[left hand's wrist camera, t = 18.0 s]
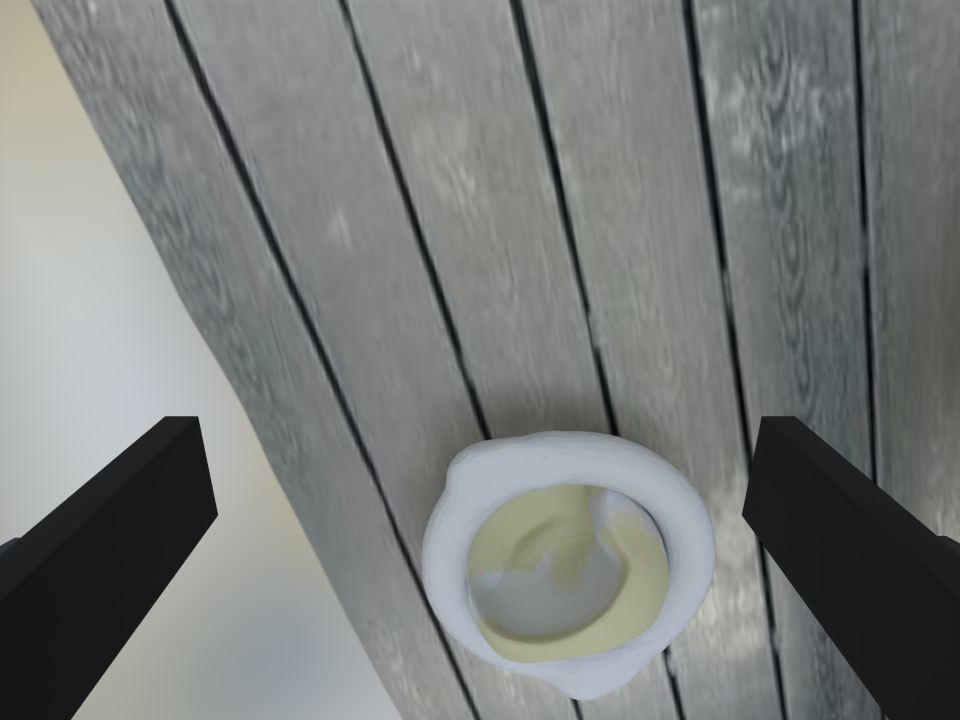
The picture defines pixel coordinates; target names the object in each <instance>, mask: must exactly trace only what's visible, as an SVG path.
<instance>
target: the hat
mask: <svg viewBox="0 0 960 720" xmlns="http://www.w3.org/2000/svg"><path fill="white" fill-rule="evenodd" d="M649 513H650V514H651V515H650V514H649ZM651 516H652V517H653V518H654V520H655V521H656V523H657V525H658V527H659V530H660V532H661V535H662V538H663V542H662V539H661V536H660V534H659V531H658V529H657V527H656V525H655V523H654V521H653V519H652V517H651ZM715 561H716V543H715V535H714V529H713V525H712V522H711V519H710V516H709V514H708V511H707V509H706V507H705V505H704V503H703V501H702V499H701V497H700V495H699V493H698V492H697V491H696V489H695V488H694V487H693V485H692V484H691V482H690V481H689V480H688V479H687V478H686V477H685V476H684V475H683V474H682V473H681V472H680V471H679V470H678V469H677V468H676V467H675V466H673V465H672V464H671V463H670V462H669V461H667V460H666V459H665V458H663V457H661V456H660V455H658V454H657V453H655V452H654V451H652V450H650V449H648V448H646V447H644V446H642V445H640V444H638V443H635V442H632V441H629V440H626V439H623V438H621V437H617V436H613V435H608V434H603V433H596V432H589V431H543V432H537V433H533V434H529V435H525V436H517V437H508V438H500V439H493V440H486V441H481V442H478V443H475V444H471V445H470V446H468V447H467V448H465V449H464V450H462V451H461V452H460V453H458V454H457V455H456V456H455V458H454V459H453V460H452V461H451V463H450V465H449V468H448V470H447V477H446V487H445V489H444V491H443V493H442V495H441V497H440V499H439V501H438V502H437V504H436V506H435V507H434V510H433V512H432V514H431V516H430V518H429V520H428V523H427V526H426V529H425V533H424V538H423V545H422V556H421V565H422V576H423V584H424V587H425V591H426V594H427V597H428V600H429V602H430V604H431V606H432V608H433V611H434V613H435V614H436V616H437V617H438V619H439V620H440V622H441V623H442V625H443V626H444V627H445V629H446V630H447V631H448V632H449V633H450V634H451V635H452V636H453V637H454V638H455V639H456V640H457V641H458V642H459V643H460V644H461V645H462V646H463V647H464V648H466V649H467V650H469V651H470V652H471V653H473V654H474V655H476V656H477V657H479V658H481V659H483V660H484V661H486V662H488V663H490V664H492V665H494V666H497V667H499V668H502V669H504V670H507V671H510V672H513V673H516V674H520V675H523V676H527V677H531V678H535V679H539V680H542V681H544V682H546V683H549V684H551V685H552V686H554V687H555V688H557V689H558V690H560V691H561V692H563V693H564V694H566V695H567V696H569V697H570V698H573V699H577V700H582V701H589V700H594V699H597V698H600V697H602V696H604V695H607V694H609V693H611V692H614V691H616V690H618V689H620V688H621V687H623V686H625V685H626V684H627V683H628V682H630V681H631V680H632V679H633V678H634V677H635V676H636V675H638V674H639V673H640V672H641V671H642V670H643V669H644V668H645V667H646V666H647V665H648V664H649V663H650V662H651V660H652V659H653V658H654V657H655V656H656V655H658V654H659V653H660V652H661V651H663V650H664V649H665V648H666V647H667V646H668V645H669V644H670V643H671V642H672V641H673V640H674V639H675V638H676V637H677V636H678V635H679V633H680V632H681V631H683V630H684V629H685V627H686V626H687V625H688V624H689V623H690V622H691V620H692V619H693V618H694V616H695V615H696V613H697V612H698V610H699V609H700V607H701V605H702V604H703V602H704V599H705V597H706V595H707V593H708V591H709V587H710V584H711V581H712V578H713V573H714V567H715Z"/></svg>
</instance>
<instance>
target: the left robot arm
mask: <svg viewBox="0 0 960 720" xmlns="http://www.w3.org/2000/svg"><path fill="white" fill-rule="evenodd" d="M217 516H218V512H217V507H216V502H215V497H214V492H213V487H212V482H211V478H210V472H209V468H208V463H207V458H206V453H205V448H204V443H203V438H202V433H201V428H200V423H199V418H198V416H165V417H164V418H163V419H161V420H160V421H159V422H158V423H157V424H156V425H154V426H153V427H152V428H151V429H150V430H148V431H147V432H146V433H145V434H144V435H142V436H141V437H140V438H139V439H138V440H136V441H135V442H134V443H133V444H132V445H131V446H129V447H128V448H127V449H126V450H125V451H123V452H122V453H121V454H120V455H119V456H117V457H116V458H115V459H114V460H113V461H111V462H110V463H109V464H108V465H107V466H106V467H104V468H103V469H102V470H101V471H100V472H98V473H97V474H96V475H95V476H94V477H92V478H91V479H90V480H89V481H88V482H86V483H85V484H84V485H83V486H82V487H81V488H79V489H78V490H77V491H76V492H75V493H73V494H72V495H71V496H70V497H69V498H67V499H66V500H65V501H64V502H63V503H62V504H60V505H59V506H58V507H57V508H56V509H54V510H53V511H52V512H51V513H50V514H48V515H47V516H46V517H45V518H44V519H42V520H41V521H40V522H39V523H38V524H37V525H35V526H34V527H33V528H32V529H31V530H29V531H28V532H27V533H26V534H25V535H23V536H22V537H21V538H13V539H12V540H10V541H8V542H6V543H4V544H3V545H1V546H0V720H71V719H72V717H73V716H74V715H75V713H76V712H77V710H78V709H79V708H80V706H81V705H82V703H83V702H84V701H85V699H86V698H87V696H88V695H89V694H90V692H91V691H92V690H93V688H94V687H95V685H96V684H97V683H98V681H99V680H100V678H101V677H102V676H103V674H104V673H105V672H106V670H107V669H108V667H109V666H110V665H111V663H112V662H113V660H114V659H115V658H116V656H117V655H118V653H119V652H120V651H121V649H122V648H123V647H124V645H125V644H126V642H127V641H128V640H129V638H130V637H131V635H132V634H133V633H134V631H135V630H136V628H137V627H138V626H139V624H140V623H141V622H142V620H143V619H144V617H145V616H146V615H147V613H148V612H149V610H150V609H151V608H152V606H153V605H154V603H155V602H156V601H157V599H158V598H159V597H160V595H161V594H162V592H163V591H164V590H165V588H166V587H167V585H168V584H169V583H170V581H171V580H172V579H173V577H174V576H175V574H176V573H177V572H178V570H179V569H180V567H181V566H182V565H183V563H184V562H185V560H186V559H187V558H188V556H189V555H190V554H191V552H192V551H193V549H194V548H195V547H196V545H197V544H198V542H199V541H200V540H201V538H202V537H203V536H204V534H205V533H206V531H207V530H208V529H209V527H210V526H211V524H212V523H213V522H214V520H215V519H216V517H217ZM742 516H743V517H744V519H745V520H746V522H747V523H748V524H749V526H750V527H751V529H752V530H753V531H754V533H755V534H756V536H757V537H758V538H759V540H760V541H761V542H762V544H763V545H764V547H765V548H766V549H767V551H768V552H769V554H770V555H771V556H772V558H773V559H774V561H775V562H776V563H777V565H778V566H779V567H780V569H781V570H782V572H783V573H784V574H785V576H786V577H787V579H788V580H789V581H790V583H791V584H792V585H793V587H794V588H795V590H796V591H797V592H798V594H799V595H800V597H801V598H802V599H803V601H804V602H805V604H806V605H807V606H808V608H809V609H810V610H811V612H812V613H813V615H814V616H815V617H816V619H817V620H818V622H819V623H820V624H821V626H822V627H823V629H824V630H825V631H826V633H827V634H828V635H829V637H830V638H831V640H832V641H833V642H834V644H835V645H836V647H837V648H838V649H839V651H840V652H841V654H842V655H843V656H844V658H845V659H846V660H847V662H848V663H849V665H850V666H851V667H852V669H853V670H854V672H855V673H856V674H857V676H858V677H859V678H860V680H861V681H862V683H863V684H864V685H865V687H866V688H867V690H868V691H869V692H870V694H871V695H872V697H873V698H874V699H875V701H876V702H877V703H878V705H879V706H880V708H881V709H882V710H883V712H884V713H885V715H886V716H887V717H888V719H889V720H960V543H958V542H956V541H954V540H952V539H951V538H949V537H947V536H937V535H935V534H934V533H933V532H932V531H931V530H929V529H928V528H927V527H926V526H925V525H923V524H922V523H921V522H920V521H919V520H918V519H916V518H915V517H914V516H913V515H912V514H910V513H909V512H908V511H907V510H906V509H904V508H903V507H902V506H901V505H900V504H898V503H897V502H896V501H895V500H894V499H893V498H891V497H890V496H889V495H888V494H887V493H885V492H884V491H883V490H882V489H881V488H879V487H878V486H877V485H876V484H875V483H874V482H872V481H871V480H870V479H869V478H868V477H866V476H865V475H864V474H863V473H862V472H860V471H859V470H858V469H857V468H856V467H854V466H853V465H852V464H851V463H850V462H849V461H847V460H846V459H845V458H844V457H843V456H841V455H840V454H839V453H838V452H837V451H835V450H834V449H833V448H832V447H831V446H829V445H828V444H827V443H826V442H825V441H824V440H822V439H821V438H820V437H819V436H818V435H816V434H815V433H814V432H813V431H812V430H810V429H809V428H808V427H807V426H806V425H805V424H803V423H802V422H801V421H800V420H799V419H797V418H796V417H795V416H762V418H761V423H760V428H759V433H758V438H757V443H756V448H755V453H754V458H753V463H752V468H751V472H750V477H749V482H748V487H747V492H746V497H745V502H744V507H743V512H742Z"/></svg>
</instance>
